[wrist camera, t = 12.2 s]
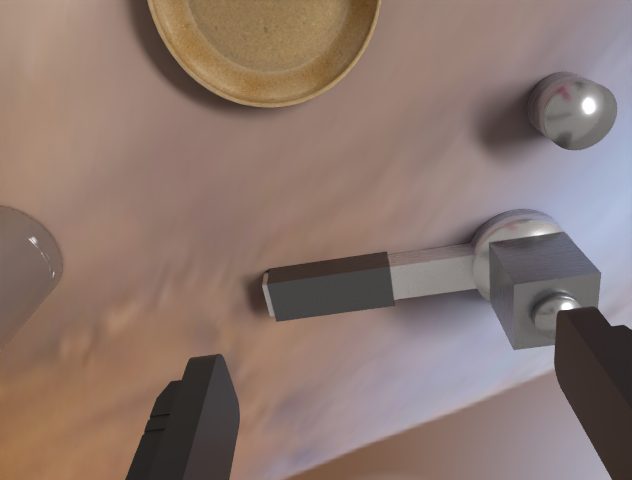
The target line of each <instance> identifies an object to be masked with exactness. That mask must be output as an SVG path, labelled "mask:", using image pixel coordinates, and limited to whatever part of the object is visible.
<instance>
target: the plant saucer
mask: <svg viewBox="0 0 632 480" xmlns="http://www.w3.org/2000/svg"><path fill="white" fill-rule="evenodd" d="M147 1H148V5H149V9H150V12H151V15H152V18H153V21H154V23H155V26H156V28H157V30H158V32H159V34H160V36H161V38H162V40H163V42H164V43H165V45H166V47H167V48H168V50H169V52H170V53H171V55H172V56H173V57H174V58H175V60H176V61H177V62H178V64H179V65H180V66H181V67H182V68H183V69H184V70H185V71H186V72H187V73H188V74H189V75H190V76H191V77H192V78H193V79H194V80H196V81H197V82H198V83H199V84H201V85H202V86H203V87H205V88H207V89H208V90H210V91H211V92H213V93H215V94H216V95H219V96H221V97H223V98H225V99H228V100H230V101H233V102H236V103H239V104H243V105H248V106H254V107H269V108H273V107H284V106H290V105H295V104H299V103H302V102H304V101H307V100H309V99H312V98H314V97H316V96H318V95H320V94H322V93H324V92H325V91H327V90H328V89H330V88H331V87H333V86H334V85H335V84H336V83H338V82H339V81H340V80H341V79H342V78H343V77H344V76H345V75H346V74H347V73H348V72H349V71H350V70H351V69H352V67H353V66H354V65H355V64H356V62H357V61H358V59H359V58H360V57H361V55H362V53H363V52H364V50H365V48H366V47H367V45H368V43H369V41H370V39H371V37H372V34H373V32H374V29H375V26H376V23H377V20H378V15H379V10H380V6H381V0H147Z"/></svg>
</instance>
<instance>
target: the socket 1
mask: <svg viewBox="0 0 632 480" xmlns="http://www.w3.org/2000/svg"><path fill="white" fill-rule="evenodd" d="M616 115H617V103H616V100H615V97H614V95H613V94H612V92H611V91H610V90H609V89H607V88H606V87H604V86H602V85H600V84H598V83H595V82H593V81H591V80H588V79H586V78H584V77H581V76H579V75H577V74H574V73H571V72H558V73H554V74H551V75H549V76H547V77H546V78H544V79H542V80H541V81H540V82H539V83H538V84H537V85H536V86H535V87H534V89H533V90H532V92H531V94H530V96H529V98H528V101H527V116H528V119H529V121H530V123H531V124H532V125H533V126H534V127H535V128H536V129H537V130H539V131H540V132H541V133H542V134H544V135H545V136H546V137H548V138H549V139H550V140H552V141H553V142H554V143H555V144H557V145H558V146H560V147H562V148H564V149H568V150H581V149H585V148H588V147H590V146H593V145H594V144H596V143H598V142H599V141H600V140H602V139H603V138H604V137H605V136H606V135H607V134H608V132H609V131H610V130H611V128H612V126H613V124H614V122H615V119H616Z"/></svg>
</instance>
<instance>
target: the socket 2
mask: <svg viewBox="0 0 632 480" xmlns="http://www.w3.org/2000/svg"><path fill="white" fill-rule="evenodd" d="M489 276H490V303H491V305H492V307H493V309H494V311H495V313H496V315H497V317H498V319H499V321H500V323H501V325H502V327H503V329H504V331H505V333H506V335H507V337H508V339H509V341H510V343H511V345H512V347H513V349H514V350H517V349H525V348H533V347H542V346H550V345H555V335H556V317H557V313H558V311H560V310H566V309H574V308H581V307H589V306H594V307H596V308H597V309H598V300H599V289H600V279H601V272H600V271H599V270H598V269H597V268H596V267H595V266H594V265H593V263H592V262H591V261H590V260H589V259H588V258H587V257H586V256H585V255H584V253H583V252H582V251H581V250H580V249H579V248H578V247H577V246H576V245H575V243H574V242H573V241H572V240H571V239H570V238H569V237H568V236H567V235H566V233H565V232H557V233H550V234H543V235H536V236H529V237H522V238H515V239H508V240H501V241H494V242H489Z"/></svg>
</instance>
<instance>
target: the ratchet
mask: <svg viewBox="0 0 632 480" xmlns="http://www.w3.org/2000/svg"><path fill="white" fill-rule="evenodd" d="M557 232H565V231H564V230H563V229H562V228H561V227H560V226H559V224H558V223H557V222H556V221H555V220H554V219H552V218H551V217H550V216H548V215H547V214H544V213H542V212H539V211H536V210H529V209H519V210H512V211H508V212H505V213H502V214H500V215H497V216H495V217H494V218H492V219H490V220H489V221H487V222H486V223H485V224H484V225H483V226H481V227H480V228H479V230H478V231H477V232H476V233H475V235H474V236H473V238H472V240H471V242H470V243H465V244H458V245H452V246H445V247H438V248H431V249H424V250H417V251H410V252H403V253H396V254H390V255H387V252H382V253H375V254H368V255H361V256H354V257H347V258H341V259H334V260H327V261H320V262H313V263H306V264H299V265H293V266H286V267H279V268H272V269H269V272H266V273H264V278H263V283H262V287H263V291H264V295H265V299H266V302H267V306H268V310H269V314H270V317H273V316H275V318H276V322H278V321H285V320H293V319H300V318H307V317H315V316H322V315H329V314H337V313H344V312H351V311H359V310H366V309H374V308H381V307H388V306H395V303H394V300H397V299H404V298H411V297H418V296H426V295H433V294H440V293H448V292H455V291H462V290H470V289H478V291H479V292H480V294H481V295H482V296H483V297H484V298H485V299H486V300H487V301H488V302H489V303H490V276H489V242H494V241H501V240H508V239H515V238H522V237H529V236H536V235H543V234H550V233H557ZM565 233H566V232H565ZM566 235H567V236H568V234H567V233H566ZM568 237H569V236H568ZM569 238H570V237H569ZM570 239H571V238H570ZM571 240H572V239H571Z"/></svg>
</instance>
